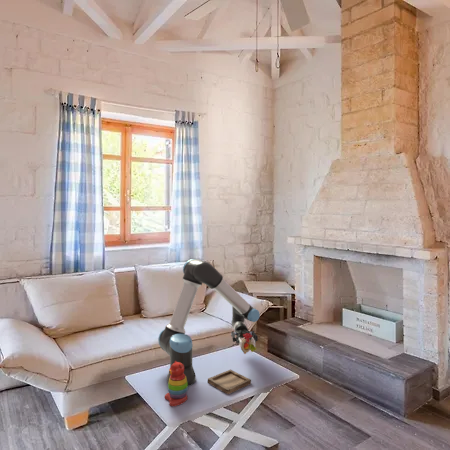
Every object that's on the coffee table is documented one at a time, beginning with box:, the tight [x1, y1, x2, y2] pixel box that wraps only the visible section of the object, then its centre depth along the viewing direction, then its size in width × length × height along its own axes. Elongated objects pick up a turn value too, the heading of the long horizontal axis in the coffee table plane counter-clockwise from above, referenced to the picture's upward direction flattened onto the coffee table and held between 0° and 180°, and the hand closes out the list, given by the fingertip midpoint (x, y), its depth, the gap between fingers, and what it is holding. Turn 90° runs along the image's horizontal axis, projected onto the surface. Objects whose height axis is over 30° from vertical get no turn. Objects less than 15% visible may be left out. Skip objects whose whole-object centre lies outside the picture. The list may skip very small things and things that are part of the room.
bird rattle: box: [240, 333, 257, 355], centre depth 198 cm, size 6×11×9 cm
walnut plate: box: [207, 369, 252, 395], centre depth 189 cm, size 16×16×2 cm
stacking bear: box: [164, 361, 189, 407], centre depth 173 cm, size 11×10×18 cm
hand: (247, 344), depth 193 cm, fingers closed on bird rattle, 7 cm apart
